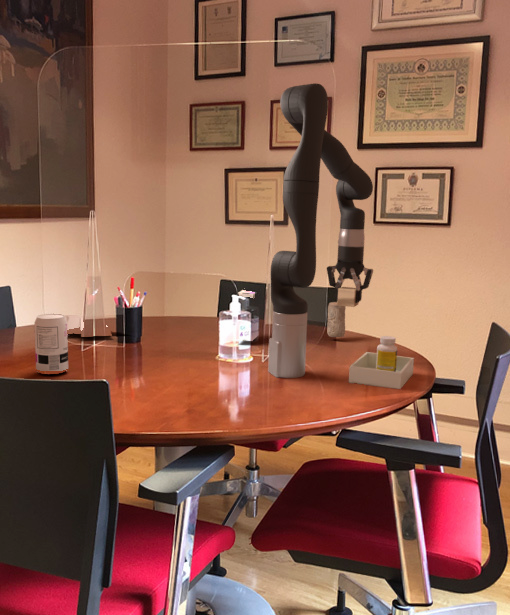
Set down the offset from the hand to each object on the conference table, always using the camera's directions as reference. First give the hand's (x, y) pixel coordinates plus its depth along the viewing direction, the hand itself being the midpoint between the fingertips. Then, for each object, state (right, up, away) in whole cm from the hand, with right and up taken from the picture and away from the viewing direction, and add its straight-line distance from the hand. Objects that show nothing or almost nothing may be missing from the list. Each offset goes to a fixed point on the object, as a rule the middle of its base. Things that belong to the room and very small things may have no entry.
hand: (347, 301), depth 184 cm
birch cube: (0, -1, 0) cm, 1 cm away
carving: (0, -12, +31) cm, 34 cm away
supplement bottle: (+8, -20, -16) cm, 26 cm away
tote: (+6, -21, -19) cm, 29 cm away
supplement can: (-82, -19, -19) cm, 86 cm away
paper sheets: (-89, -10, +35) cm, 96 cm away
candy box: (-30, -12, +27) cm, 42 cm away
